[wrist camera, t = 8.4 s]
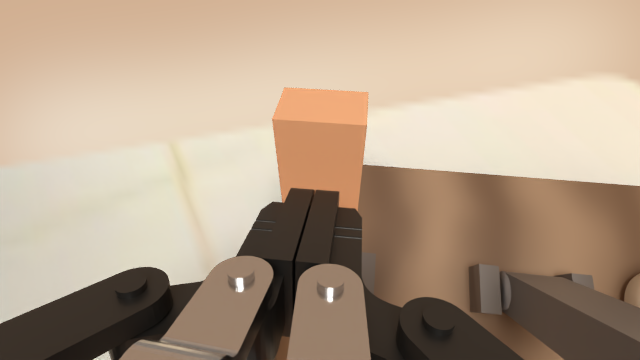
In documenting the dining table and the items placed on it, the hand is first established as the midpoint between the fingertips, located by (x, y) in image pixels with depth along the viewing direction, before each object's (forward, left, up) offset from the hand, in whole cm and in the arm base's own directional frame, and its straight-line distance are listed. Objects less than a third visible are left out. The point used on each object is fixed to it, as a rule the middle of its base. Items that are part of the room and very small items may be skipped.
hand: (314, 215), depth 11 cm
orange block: (0, -1, -9) cm, 9 cm away
